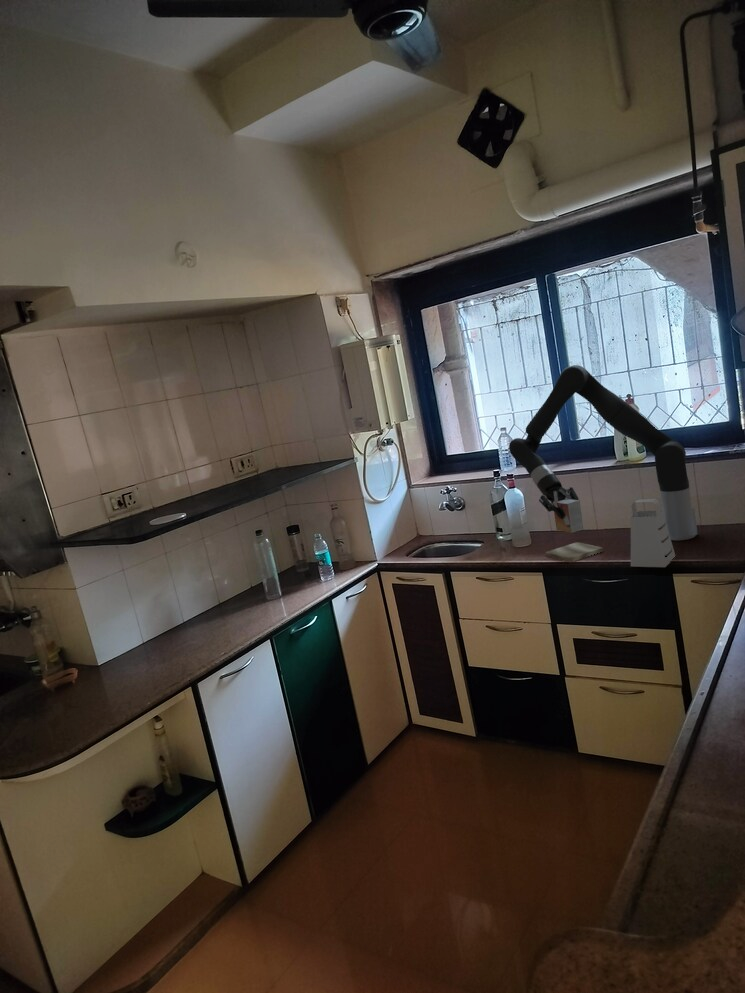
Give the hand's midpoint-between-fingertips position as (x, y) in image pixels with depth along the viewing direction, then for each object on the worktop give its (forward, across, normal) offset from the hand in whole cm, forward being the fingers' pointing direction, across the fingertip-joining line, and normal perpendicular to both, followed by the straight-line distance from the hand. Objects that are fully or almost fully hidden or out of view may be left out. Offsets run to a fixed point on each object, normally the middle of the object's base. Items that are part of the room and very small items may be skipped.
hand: (571, 515), depth 231 cm
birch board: (+9, 0, +11) cm, 14 cm away
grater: (+30, +8, -9) cm, 32 cm away
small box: (+3, 0, +5) cm, 6 cm away
